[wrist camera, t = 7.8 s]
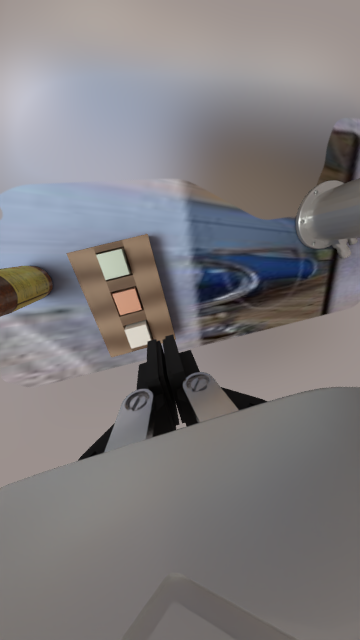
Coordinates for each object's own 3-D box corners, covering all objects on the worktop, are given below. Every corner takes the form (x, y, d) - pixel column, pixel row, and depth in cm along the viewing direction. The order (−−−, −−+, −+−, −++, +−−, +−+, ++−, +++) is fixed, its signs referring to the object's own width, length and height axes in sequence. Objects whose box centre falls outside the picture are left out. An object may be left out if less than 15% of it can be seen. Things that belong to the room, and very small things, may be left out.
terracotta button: (115, 291, 36) (112, 294, 34) (135, 286, 37) (134, 288, 34) (122, 310, 38) (120, 315, 35) (142, 305, 38) (141, 309, 35)
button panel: (75, 253, 34) (66, 253, 31) (147, 236, 35) (147, 233, 32) (114, 348, 42) (111, 357, 38) (173, 332, 43) (175, 339, 39)
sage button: (100, 255, 33) (96, 255, 30) (123, 249, 33) (121, 248, 30) (109, 278, 34) (105, 280, 32) (130, 272, 35) (129, 274, 32)
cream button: (126, 324, 38) (124, 330, 35) (146, 319, 38) (145, 324, 35) (132, 342, 39) (131, 348, 37) (151, 336, 40) (151, 343, 37)
